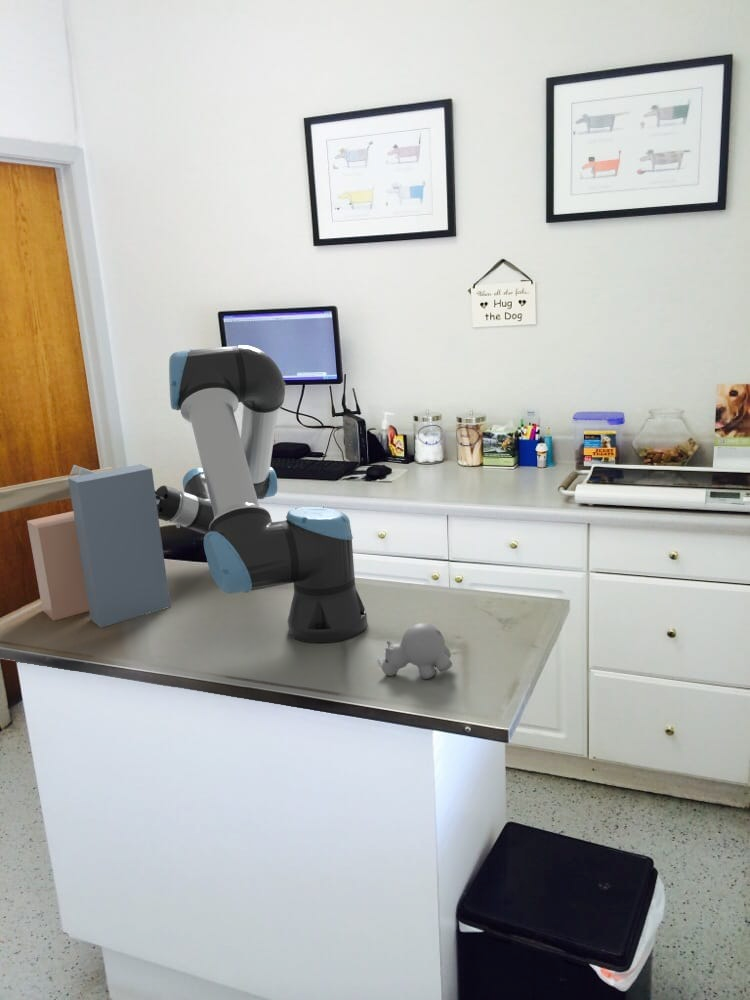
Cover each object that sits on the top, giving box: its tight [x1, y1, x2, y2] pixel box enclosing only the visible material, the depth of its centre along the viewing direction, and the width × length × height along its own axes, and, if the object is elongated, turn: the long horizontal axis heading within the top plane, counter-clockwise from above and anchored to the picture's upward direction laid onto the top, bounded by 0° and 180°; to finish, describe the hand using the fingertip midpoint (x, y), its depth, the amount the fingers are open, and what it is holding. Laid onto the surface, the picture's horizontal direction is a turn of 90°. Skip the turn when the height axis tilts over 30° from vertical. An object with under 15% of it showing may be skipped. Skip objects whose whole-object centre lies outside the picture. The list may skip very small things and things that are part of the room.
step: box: [26, 510, 89, 622], centre depth 182 cm, size 8×10×20 cm
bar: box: [0, 466, 116, 513], centre depth 178 cm, size 4×27×4 cm, turn 127°
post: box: [68, 463, 171, 628], centre depth 176 cm, size 6×15×30 cm, turn 127°
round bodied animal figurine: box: [377, 622, 453, 680], centre depth 143 cm, size 7×12×8 cm, turn 84°
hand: (75, 472), depth 180 cm, fingers closed on bar, 4 cm apart
